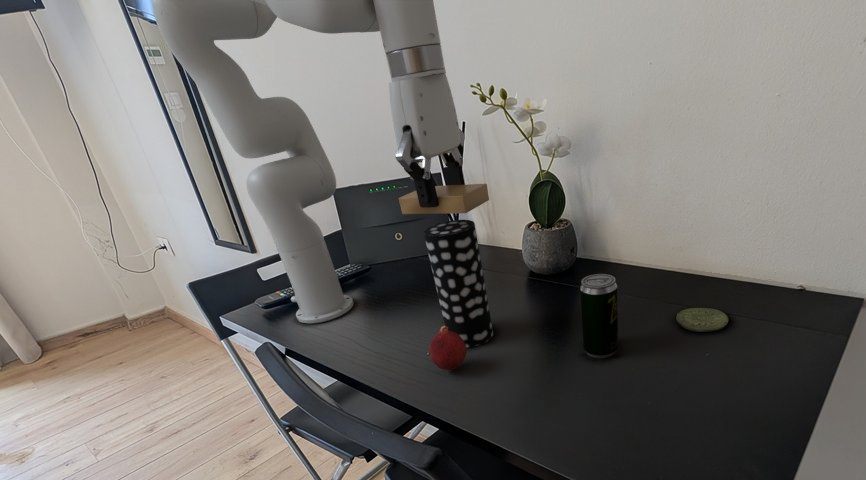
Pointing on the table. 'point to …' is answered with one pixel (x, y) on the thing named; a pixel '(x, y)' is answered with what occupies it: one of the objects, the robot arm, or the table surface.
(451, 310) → the spotted tube
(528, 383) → the table surface
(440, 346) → the red pomegranate
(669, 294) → the table surface
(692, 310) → the medallion
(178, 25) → the robot arm
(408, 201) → the flat wooden block
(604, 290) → the beer can
